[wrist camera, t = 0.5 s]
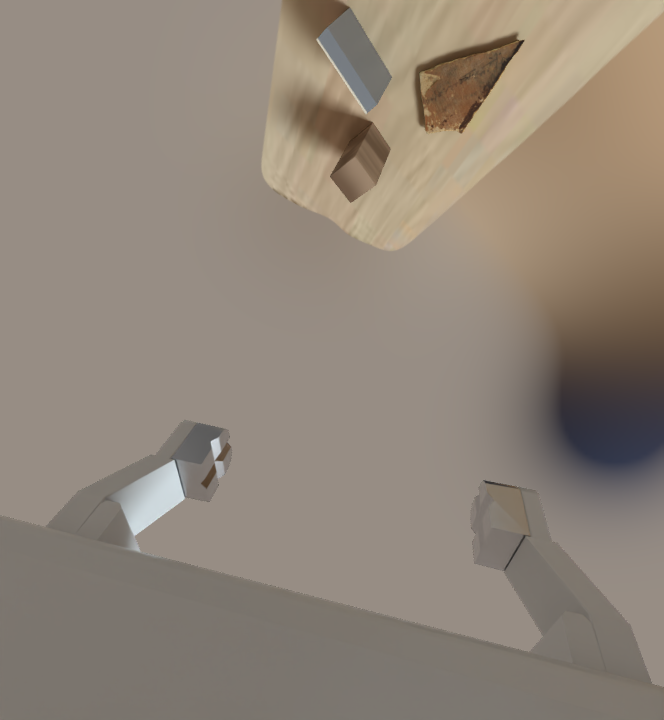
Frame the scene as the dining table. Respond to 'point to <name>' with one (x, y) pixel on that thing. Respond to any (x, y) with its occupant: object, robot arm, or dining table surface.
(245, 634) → the robot arm
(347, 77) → the slate board
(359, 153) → the walnut block
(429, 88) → the shard
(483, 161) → the dining table surface
